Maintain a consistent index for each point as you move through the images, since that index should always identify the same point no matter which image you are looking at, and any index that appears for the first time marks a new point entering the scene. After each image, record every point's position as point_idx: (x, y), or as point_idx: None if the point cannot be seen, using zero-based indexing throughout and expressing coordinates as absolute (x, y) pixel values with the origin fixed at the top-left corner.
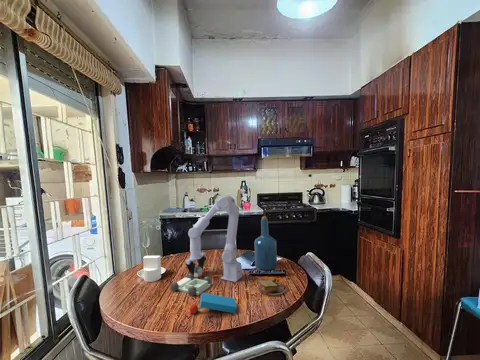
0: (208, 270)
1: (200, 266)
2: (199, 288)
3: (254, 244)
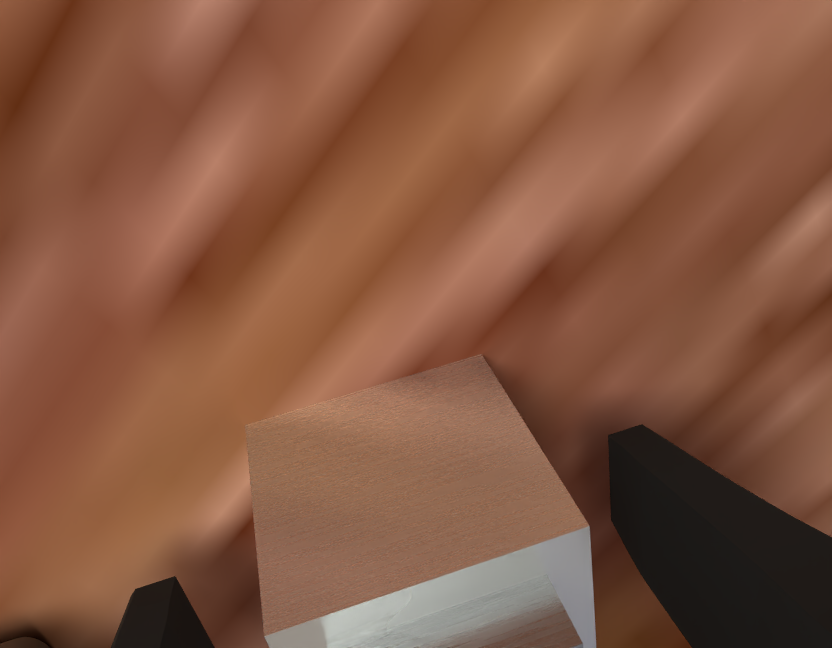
0: (788, 432)
1: (694, 579)
2: None
3: None
